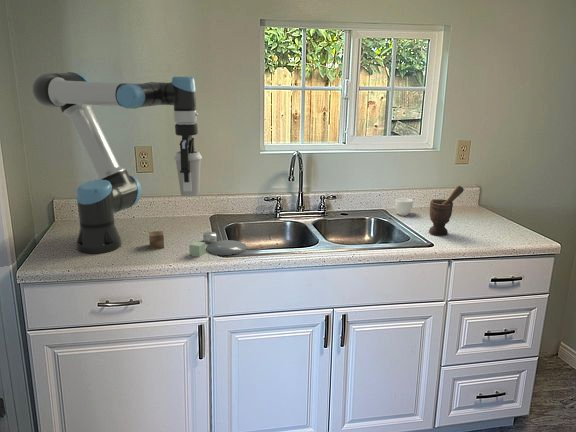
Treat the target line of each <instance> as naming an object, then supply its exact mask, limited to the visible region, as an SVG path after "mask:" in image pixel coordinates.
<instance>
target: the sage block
mask: <svg viewBox="0 0 576 432" xmlns="http://www.w3.org/2000/svg"><path fill="white" fill-rule="evenodd" d="M188 248H189V256H191V255H192V257H198V258H200V257H203V256H205V254H206V252H207V247H206V243H204V242H203V241H196V240H195V241H193V242H191V243H190V244H189V247H188Z"/></svg>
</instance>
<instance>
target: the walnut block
mask: <svg viewBox="0 0 576 432" xmlns="http://www.w3.org/2000/svg"><path fill="white" fill-rule="evenodd" d="M148 237H149V238H148V239H149V249H150V250H155V249H157V250H158V249H165V238H164V237H165V236H164V231H163V230H155V231H148Z"/></svg>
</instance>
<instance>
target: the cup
mask: <svg viewBox="0 0 576 432" xmlns="http://www.w3.org/2000/svg"><path fill="white" fill-rule="evenodd" d="M413 203H414V200H413V199H412V198H409V197H408V198H407V197H397V198H395V199H394V208H395V211H396V212H397V214H398V215H399V216H403V217H404V216H408V215H409V214H410V213H411V211H412V209H413Z"/></svg>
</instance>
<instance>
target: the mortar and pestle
mask: <svg viewBox="0 0 576 432" xmlns="http://www.w3.org/2000/svg"><path fill="white" fill-rule="evenodd" d="M464 189H465V188H464V187H462V186H461V185H458V186H456V187H455V188H454V190H453V191H452V193H451V194H450V195H449V197H447V199H443V198H435V199H431V200H430V203H429V204H430V205H429V218H430V221H431V223H432V226H431V227H430V228H429V230H428V233H429V234H430V235H431V236H437V237H438V236H440V237H441V236H447V235H448V234H449V231H448V229H447V228H446V224H447V225H448V223H449V222H450V219H451V218H452V213H453V206H454V201H455V200H456V199H457V198H458V197H460V195H462V194H463V193H464Z"/></svg>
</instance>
